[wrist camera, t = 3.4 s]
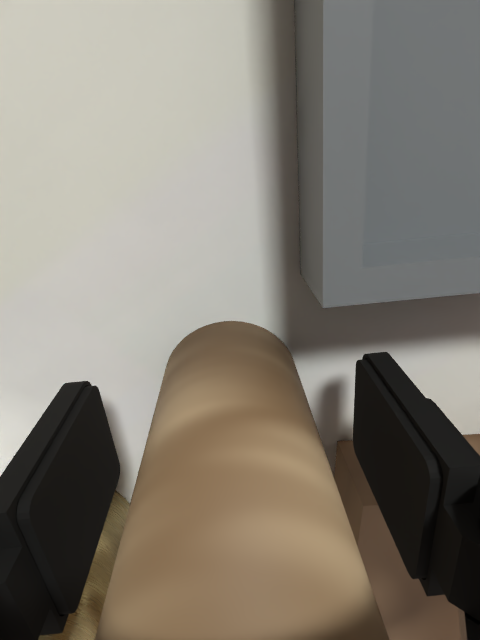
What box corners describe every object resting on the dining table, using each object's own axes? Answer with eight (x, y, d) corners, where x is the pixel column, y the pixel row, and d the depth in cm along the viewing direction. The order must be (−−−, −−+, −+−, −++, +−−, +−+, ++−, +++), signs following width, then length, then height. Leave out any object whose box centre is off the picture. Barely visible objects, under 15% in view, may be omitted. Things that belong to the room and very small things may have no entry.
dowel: (294, 314, 11) (444, 649, 4) (297, 427, 12) (405, 816, 5) (153, 328, 11) (12, 691, 4) (175, 439, 12) (109, 846, 5)
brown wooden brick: (560, 422, 13) (647, 491, 11) (491, 599, 17) (542, 683, 15) (334, 432, 13) (363, 505, 10) (317, 610, 17) (335, 696, 14)
